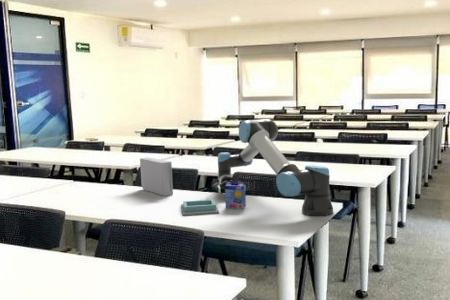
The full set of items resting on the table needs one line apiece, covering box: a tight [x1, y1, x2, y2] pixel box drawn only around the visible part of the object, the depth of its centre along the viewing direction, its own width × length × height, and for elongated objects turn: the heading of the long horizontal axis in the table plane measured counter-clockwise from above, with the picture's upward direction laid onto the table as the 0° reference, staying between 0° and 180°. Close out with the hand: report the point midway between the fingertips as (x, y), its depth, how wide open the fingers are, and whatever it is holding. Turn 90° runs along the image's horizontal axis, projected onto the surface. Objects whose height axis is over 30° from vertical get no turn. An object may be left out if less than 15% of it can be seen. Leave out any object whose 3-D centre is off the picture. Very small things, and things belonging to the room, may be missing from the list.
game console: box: [139, 156, 174, 197], centre depth 301 cm, size 6×27×20 cm, turn 39°
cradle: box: [180, 199, 220, 217], centre depth 257 cm, size 20×18×4 cm
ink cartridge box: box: [224, 180, 246, 210], centre depth 259 cm, size 10×6×14 cm, turn 76°
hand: (232, 189), depth 266 cm, fingers open, 13 cm apart
